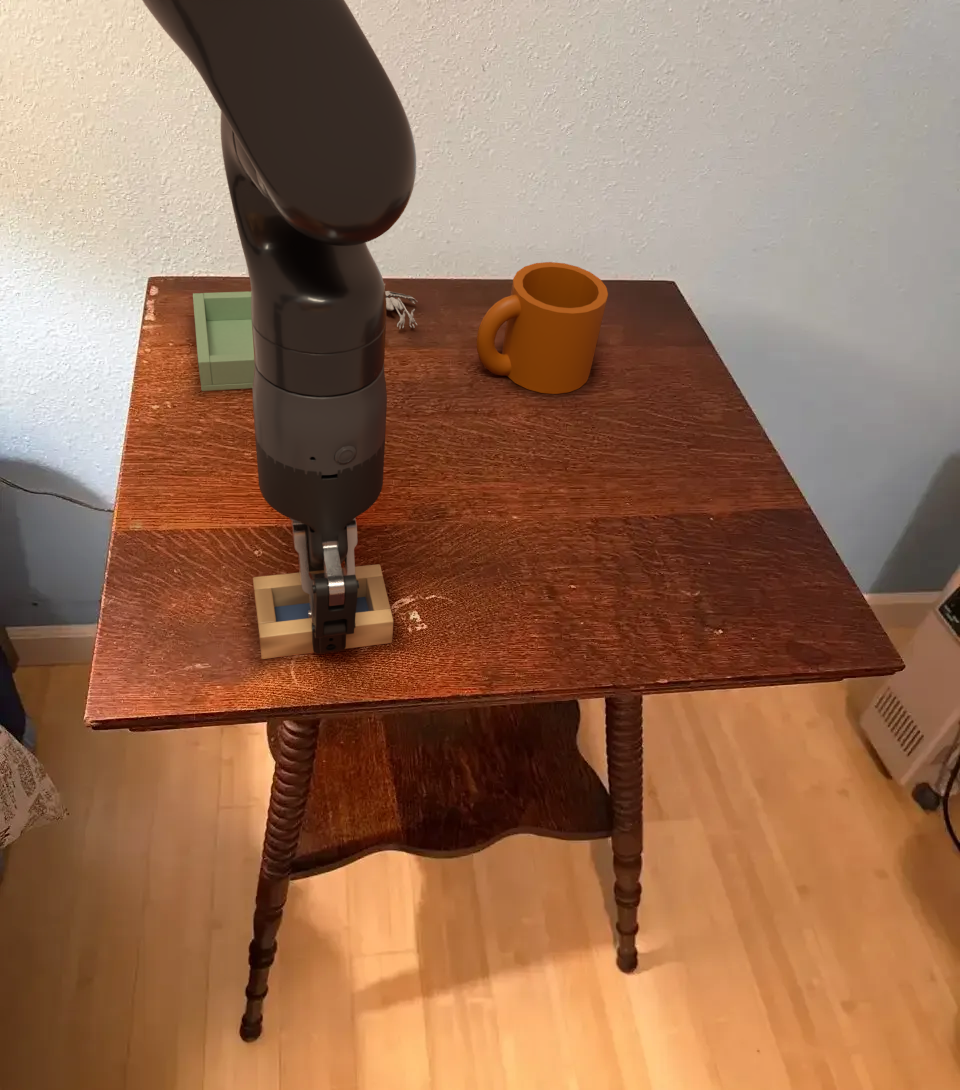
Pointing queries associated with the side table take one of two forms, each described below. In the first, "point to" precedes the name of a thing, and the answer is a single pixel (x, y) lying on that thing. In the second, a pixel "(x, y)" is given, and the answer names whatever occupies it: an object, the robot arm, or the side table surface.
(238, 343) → the holder
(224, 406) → the side table surface
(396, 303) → the figurine
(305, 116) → the robot arm
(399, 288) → the side table surface
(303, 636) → the frame
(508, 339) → the mug
